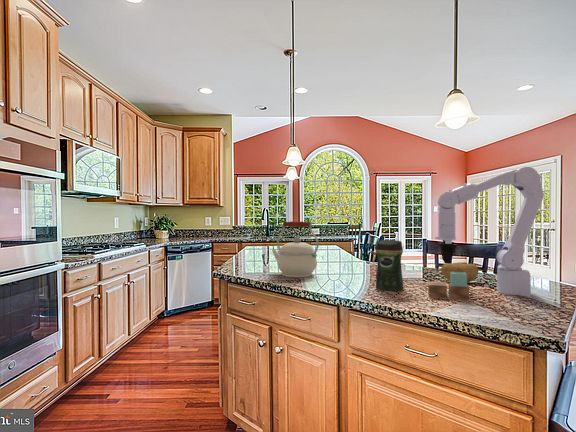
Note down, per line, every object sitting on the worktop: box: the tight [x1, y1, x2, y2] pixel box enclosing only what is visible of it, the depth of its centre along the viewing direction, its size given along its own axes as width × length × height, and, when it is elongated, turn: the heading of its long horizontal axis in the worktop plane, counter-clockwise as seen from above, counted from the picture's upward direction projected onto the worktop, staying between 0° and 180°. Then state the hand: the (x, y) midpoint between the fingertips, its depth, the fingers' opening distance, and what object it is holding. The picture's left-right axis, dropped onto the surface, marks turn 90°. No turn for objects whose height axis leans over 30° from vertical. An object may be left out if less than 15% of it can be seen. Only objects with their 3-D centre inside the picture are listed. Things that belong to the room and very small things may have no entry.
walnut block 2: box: [448, 283, 470, 301], centre depth 114 cm, size 6×6×4 cm
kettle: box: [271, 220, 320, 279], centre depth 161 cm, size 25×18×25 cm
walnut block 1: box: [427, 281, 448, 299], centre depth 116 cm, size 6×6×4 cm
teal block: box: [449, 272, 468, 287], centre depth 114 cm, size 4×4×4 cm
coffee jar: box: [375, 239, 404, 292], centre depth 128 cm, size 10×8×19 cm
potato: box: [440, 262, 479, 283], centre depth 143 cm, size 10×14×8 cm
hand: (446, 262), depth 128 cm, fingers open, 7 cm apart
